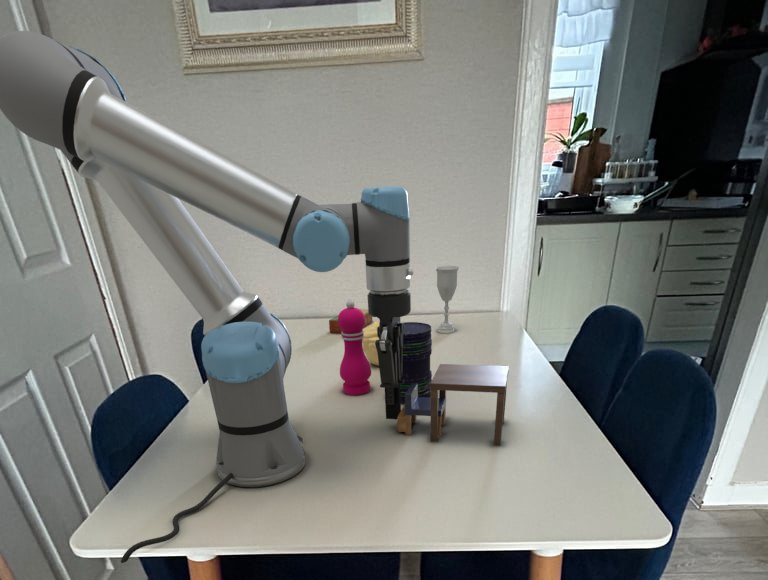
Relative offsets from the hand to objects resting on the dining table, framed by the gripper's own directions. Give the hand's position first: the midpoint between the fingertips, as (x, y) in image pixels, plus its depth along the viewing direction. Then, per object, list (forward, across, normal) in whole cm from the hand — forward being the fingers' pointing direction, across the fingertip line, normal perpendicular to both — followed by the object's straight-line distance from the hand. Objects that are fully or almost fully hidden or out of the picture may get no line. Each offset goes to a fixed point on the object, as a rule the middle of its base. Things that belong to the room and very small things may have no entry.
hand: (393, 417), depth 106 cm
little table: (+2, 0, -15) cm, 15 cm away
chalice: (+2, +73, 0) cm, 73 cm away
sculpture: (+2, +40, +11) cm, 41 cm away
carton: (+2, +75, +31) cm, 81 cm away
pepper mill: (+2, +19, +13) cm, 23 cm away
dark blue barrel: (+2, +17, 0) cm, 17 cm away
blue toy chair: (+2, 0, -6) cm, 6 cm away
